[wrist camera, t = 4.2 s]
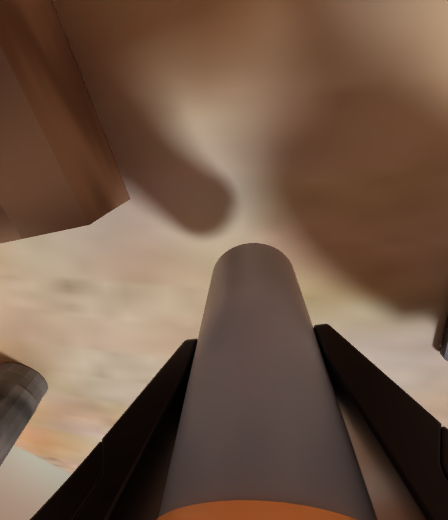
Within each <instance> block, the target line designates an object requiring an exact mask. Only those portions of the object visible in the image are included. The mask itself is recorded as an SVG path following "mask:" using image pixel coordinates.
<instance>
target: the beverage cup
mask: <svg viewBox="0 0 448 520" xmlns="http://www.w3.org/2000/svg"><path fill="white" fill-rule="evenodd" d="M47 389H48V386H47V383H46V381H45V379H44V378H43V377H42V376H41V375H40V374H39V373H38V372H36V371H34V370H33V369H31V368H29V367H27V366H24V365H21V364H17V363H4V364H0V466H1V464H2V462H3V461H4V459H5V458H6V456H7V455H8V453H9V451H10V450H11V448H12V447H13V445H14V444H15V442H16V441H17V439H18V437H19V436H20V434H21V433H22V431H23V430H24V428H25V426H26V425H27V423H28V422H29V420H30V419H31V417H32V415H33V414H34V412H35V411H36V408H37V406H38V404H39V403H40V401H41V399H42V397H43V396H44V395H45V393H46V392H47Z"/></svg>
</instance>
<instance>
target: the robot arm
mask: <svg viewBox="0 0 448 520" xmlns="http://www.w3.org/2000/svg"><path fill="white" fill-rule="evenodd" d="M313 329H314V332H315V335H316V338H317V341H318V344H319V347H320V350H321V353H322V356H323V359H324V362H325V365H326V368H327V371H328V374H329V376H330V379H331V382H332V385H333V388H334V391H335V394H336V397H337V400H338V403H339V406H340V409H341V412H342V415H343V418H344V421H345V424H346V427H347V430H348V433H349V436H350V439H351V442H352V445H353V448H354V451H355V454H356V457H357V460H358V463H359V466H360V469H361V472H362V475H363V478H364V481H365V484H366V487H367V490H368V493H369V496H370V499H371V502H372V505H373V508H374V511H375V514H376V517H377V520H448V429H447V428H446V427H441V423H440V422H439V421H438V420H437V419H435V418H434V417H433V416H432V415H431V414H430V413H429V412H427V411H426V410H425V409H424V408H423V407H422V406H421V405H420V404H418V403H417V402H416V401H415V400H414V399H413V398H412V397H410V396H409V395H408V394H407V393H406V392H405V391H404V390H402V389H401V388H400V387H399V386H398V385H397V384H396V383H395V382H393V381H392V380H391V379H390V378H389V377H388V376H387V375H385V374H384V373H383V372H382V371H381V370H380V369H379V368H377V367H376V366H375V365H374V364H373V363H372V362H371V361H369V360H368V359H367V358H366V357H365V356H364V355H363V354H362V353H360V352H359V351H358V350H357V349H356V348H355V347H354V346H352V345H351V344H350V343H349V342H348V341H347V340H346V339H344V338H343V337H342V336H341V335H340V334H339V333H338V332H337V331H335V330H334V329H333V328H332V327H331V326H330V325H328V324H320V325H315V326H314V328H313ZM197 341H198V339H189V340H185V341H184V342H183V343H182V345H181V346H180V347H179V348H178V349H177V351H176V352H175V353H174V354H173V355H172V356H171V358H170V359H169V360H168V361H167V362H166V364H165V365H164V366H163V367H162V368H161V370H160V371H159V372H158V373H157V374H156V376H155V377H154V378H153V379H152V380H151V381H150V383H149V384H148V385H147V386H146V387H145V389H144V390H143V391H142V392H141V393H140V395H139V396H138V397H137V398H136V399H135V401H134V402H133V403H132V404H131V405H130V407H129V408H128V409H127V410H126V411H125V412H124V414H123V415H122V416H121V417H120V418H119V420H118V421H117V422H116V423H115V424H114V426H113V427H112V428H111V429H110V430H109V432H108V433H107V434H106V435H105V436H104V437H103V439H102V442H99V443H98V444H97V446H96V447H95V448H94V449H93V450H92V452H91V453H90V454H89V455H88V456H87V458H86V459H85V460H84V461H83V462H82V463H81V464H80V466H79V467H78V468H77V469H76V470H75V471H74V472H73V474H72V475H71V476H70V477H69V478H68V479H67V481H66V482H65V483H64V484H63V485H62V486H61V487H60V488H59V489H58V490H57V491H56V492H55V493H54V495H53V496H52V497H51V498H50V499H49V500H48V501H47V502H46V503H45V504H44V505H43V506H42V507H41V508H40V510H39V511H38V512H37V513H36V514H35V515H34V516H33V517H32V518H31V519H30V520H156V519H158V516H159V512H160V507H161V503H162V498H163V494H164V489H165V485H166V480H167V476H168V471H169V467H170V462H171V458H172V453H173V449H174V444H175V440H176V435H177V431H178V426H179V422H180V417H181V413H182V408H183V404H184V399H185V395H186V390H187V386H188V381H189V377H190V372H191V368H192V363H193V359H194V354H195V350H196V345H197ZM440 354H441V355H442V356H443V358H444V359H445V360H447V361H448V319H447V324H446V328H445V333H444V337H443V341H442V346H441V350H440Z"/></svg>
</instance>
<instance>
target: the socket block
mask: <svg viewBox="0 0 448 520" xmlns="http://www.w3.org/2000/svg"><path fill="white" fill-rule="evenodd" d="M129 199H130V197H129V195H128V192H127V190H126V187H125V185H124V182H123V180H122V177H121V175H120V172H119V170H118V167H117V165H116V162H115V160H114V157H113V155H112V152H111V150H110V147H109V144H108V142H107V139H106V137H105V134H104V132H103V129H102V127H101V124H100V122H99V119H98V117H97V114H96V112H95V109H94V107H93V104H92V102H91V99H90V97H89V94H88V92H87V89H86V87H85V84H84V82H83V79H82V77H81V74H80V72H79V69H78V66H77V64H76V61H75V59H74V56H73V54H72V51H71V49H70V46H69V44H68V41H67V39H66V36H65V34H64V31H63V29H62V26H61V24H60V21H59V19H58V16H57V14H56V11H55V9H54V6H53V4H52V1H51V0H0V243H4V242H9V241H14V240H19V239H23V238H28V237H33V236H38V235H43V234H47V233H52V232H57V231H62V230H66V229H71V228H76V227H81V226H86V225H90V224H91V223H93V222H94V221H96V220H98V219H99V218H101V217H102V216H104V215H105V214H107V213H109V212H110V211H112V210H113V209H115V208H117V207H118V206H120V205H121V204H123V203H124V202H126V201H128V200H129Z"/></svg>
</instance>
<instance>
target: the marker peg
mask: <svg viewBox="0 0 448 520" xmlns="http://www.w3.org/2000/svg"><path fill="white" fill-rule="evenodd" d="M156 520H377V517H376V514H375V511H374V508H373V505H372V502H371V499H370V496H369V493H368V490H367V487H366V484H365V481H364V478H363V475H362V472H361V469H360V466H359V463H358V460H357V457H356V454H355V451H354V448H353V445H352V442H351V439H350V436H349V433H348V430H347V427H346V424H345V421H344V418H343V415H342V412H341V409H340V406H339V403H338V400H337V397H336V394H335V391H334V388H333V385H332V382H331V379H330V376H329V374H328V371H327V368H326V365H325V362H324V359H323V356H322V353H321V350H320V347H319V344H318V341H317V338H316V335H315V332H314V329H313V326H312V323H311V320H310V317H309V314H308V311H307V308H306V305H305V302H304V299H303V296H302V293H301V290H300V287H299V284H298V281H297V278H296V275H295V272H294V269H293V266H292V264H291V262H290V261H289V259H288V258H287V257H286V256H285V255H284V254H283V253H282V252H281V251H279V250H278V249H276V248H274V247H271V246H269V245H265V244H259V243H248V244H242V245H239V246H236V247H234V248H232V249H230V250H228V251H227V252H225V253H224V254H223V255H222V256H221V257H220V258H219V260H218V261H217V263H216V264H215V267H214V270H213V274H212V278H211V283H210V287H209V292H208V296H207V301H206V305H205V310H204V314H203V319H202V323H201V328H200V332H199V336H198V341H197V345H196V350H195V354H194V359H193V363H192V368H191V372H190V377H189V381H188V386H187V390H186V395H185V399H184V404H183V408H182V413H181V417H180V422H179V426H178V431H177V435H176V440H175V444H174V449H173V453H172V458H171V462H170V467H169V471H168V476H167V480H166V485H165V489H164V494H163V498H162V503H161V507H160V512H159V516H158V519H156Z"/></svg>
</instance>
